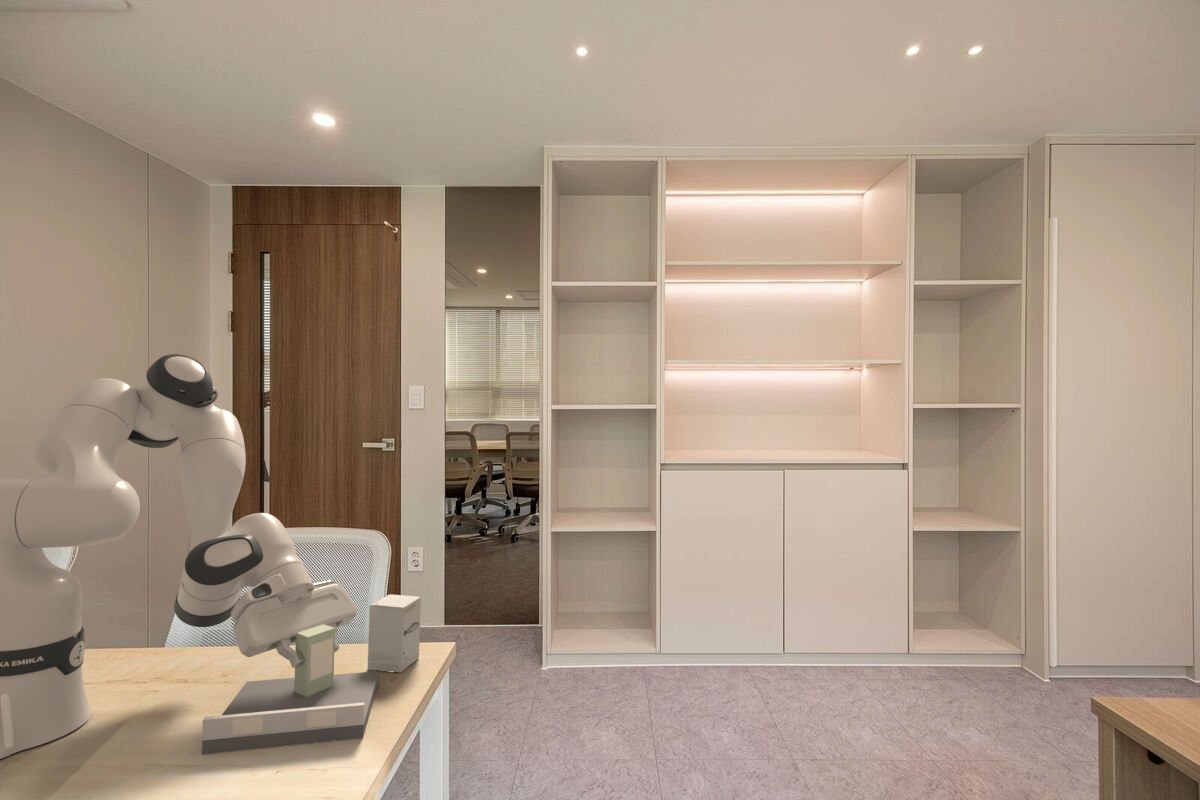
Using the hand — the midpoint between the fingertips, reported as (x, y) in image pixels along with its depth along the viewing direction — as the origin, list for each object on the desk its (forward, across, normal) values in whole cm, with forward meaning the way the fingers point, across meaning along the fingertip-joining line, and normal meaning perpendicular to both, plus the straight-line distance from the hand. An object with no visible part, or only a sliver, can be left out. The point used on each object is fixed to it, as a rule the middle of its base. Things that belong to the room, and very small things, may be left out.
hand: (317, 658), depth 102 cm
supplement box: (+5, -17, -6) cm, 19 cm away
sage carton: (+3, 0, -4) cm, 5 cm away
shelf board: (+6, +4, -4) cm, 9 cm away
